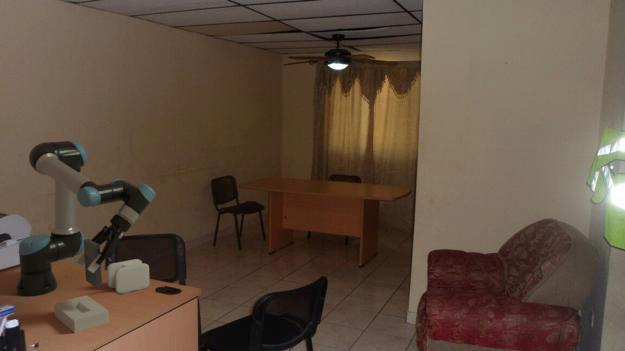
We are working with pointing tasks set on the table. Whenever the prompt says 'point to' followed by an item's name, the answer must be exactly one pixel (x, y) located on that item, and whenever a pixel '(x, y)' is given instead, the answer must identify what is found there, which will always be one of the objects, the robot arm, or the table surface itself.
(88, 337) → the table surface
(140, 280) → the cable organizer
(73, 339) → the table surface
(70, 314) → the slotted box
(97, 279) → the cover plate
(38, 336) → the table surface
